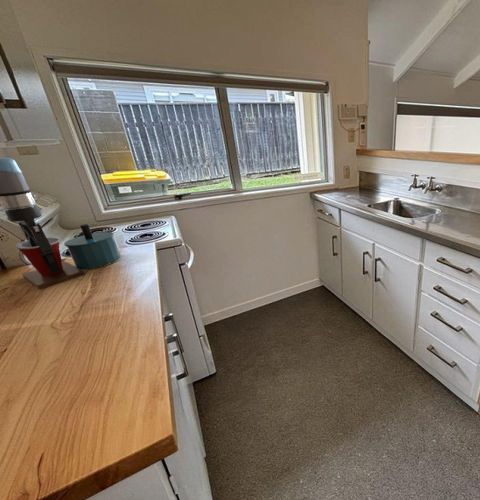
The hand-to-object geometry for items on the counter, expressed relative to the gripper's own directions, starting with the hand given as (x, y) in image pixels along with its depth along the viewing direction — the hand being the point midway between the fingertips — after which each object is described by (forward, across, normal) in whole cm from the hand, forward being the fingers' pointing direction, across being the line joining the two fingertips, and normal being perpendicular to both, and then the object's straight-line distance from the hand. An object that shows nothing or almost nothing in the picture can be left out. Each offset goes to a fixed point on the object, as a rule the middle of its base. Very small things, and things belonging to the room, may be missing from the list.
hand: (51, 269), depth 101 cm
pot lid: (-7, 0, -13) cm, 15 cm away
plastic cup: (+1, 0, 0) cm, 2 cm away
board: (+3, 0, 0) cm, 3 cm away
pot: (+3, 0, -13) cm, 14 cm away
